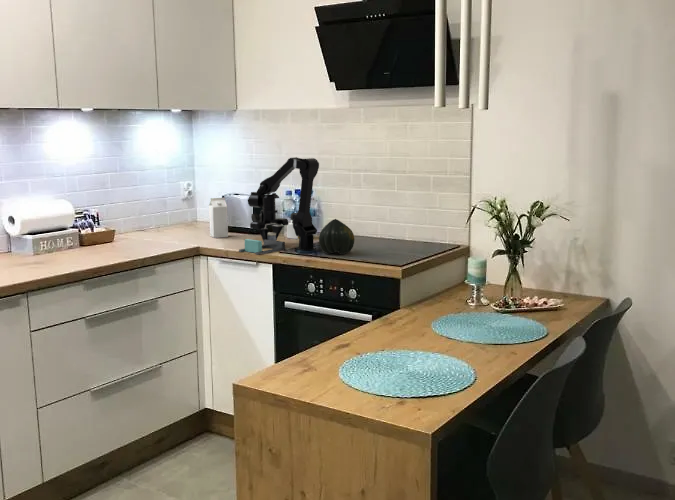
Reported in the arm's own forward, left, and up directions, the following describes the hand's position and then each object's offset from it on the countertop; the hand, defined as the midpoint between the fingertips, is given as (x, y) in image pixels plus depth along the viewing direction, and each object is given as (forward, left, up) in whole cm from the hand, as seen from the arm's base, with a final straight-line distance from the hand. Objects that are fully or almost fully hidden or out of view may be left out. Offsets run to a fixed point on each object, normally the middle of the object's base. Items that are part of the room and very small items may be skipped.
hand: (269, 242), depth 335 cm
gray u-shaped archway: (-11, +10, -1) cm, 15 cm away
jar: (0, 0, -1) cm, 1 cm away
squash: (-36, -10, -2) cm, 37 cm away
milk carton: (+38, +5, -2) cm, 38 cm away
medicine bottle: (+10, -22, -2) cm, 24 cm away
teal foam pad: (-12, +16, -1) cm, 20 cm away
